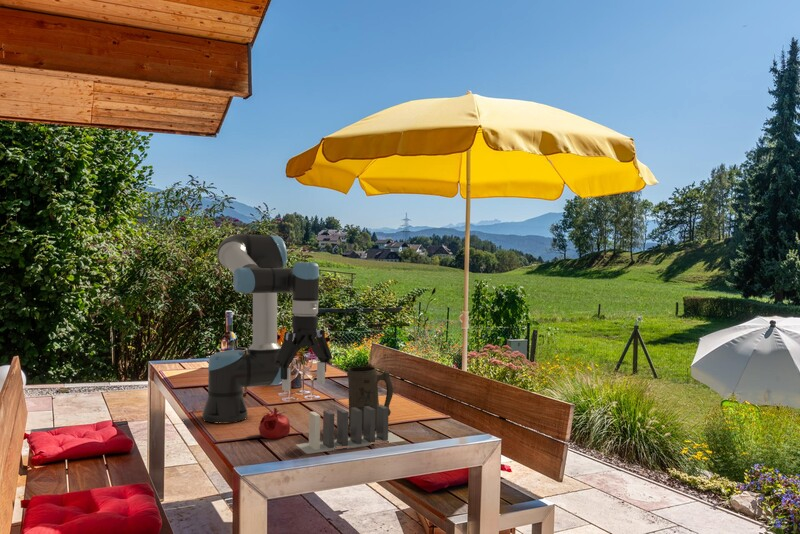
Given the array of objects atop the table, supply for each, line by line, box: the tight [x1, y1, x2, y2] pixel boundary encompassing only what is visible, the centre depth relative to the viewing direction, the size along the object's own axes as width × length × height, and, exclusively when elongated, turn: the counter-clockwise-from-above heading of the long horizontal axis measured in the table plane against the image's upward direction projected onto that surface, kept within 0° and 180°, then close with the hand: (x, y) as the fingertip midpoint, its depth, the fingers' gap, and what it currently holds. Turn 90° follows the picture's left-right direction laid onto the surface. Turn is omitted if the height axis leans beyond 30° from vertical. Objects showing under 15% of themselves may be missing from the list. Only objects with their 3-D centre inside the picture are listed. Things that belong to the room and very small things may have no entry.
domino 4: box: [349, 407, 363, 444], centre depth 191 cm, size 2×5×10 cm, turn 28°
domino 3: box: [336, 408, 349, 446], centre depth 189 cm, size 2×5×10 cm, turn 28°
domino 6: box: [375, 404, 390, 441], centre depth 195 cm, size 2×5×10 cm, turn 28°
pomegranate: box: [258, 407, 291, 440], centre depth 196 cm, size 10×10×9 cm
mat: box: [295, 432, 406, 455], centre depth 190 cm, size 32×10×1 cm, turn 118°
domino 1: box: [308, 411, 321, 450], centre depth 184 cm, size 2×5×10 cm, turn 28°
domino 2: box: [322, 409, 335, 448], centre depth 186 cm, size 2×5×10 cm, turn 28°
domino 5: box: [362, 406, 376, 443], centre depth 193 cm, size 2×5×10 cm, turn 28°
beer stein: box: [346, 366, 394, 432], centre depth 209 cm, size 15×11×20 cm
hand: (303, 387), depth 183 cm, fingers open, 13 cm apart
